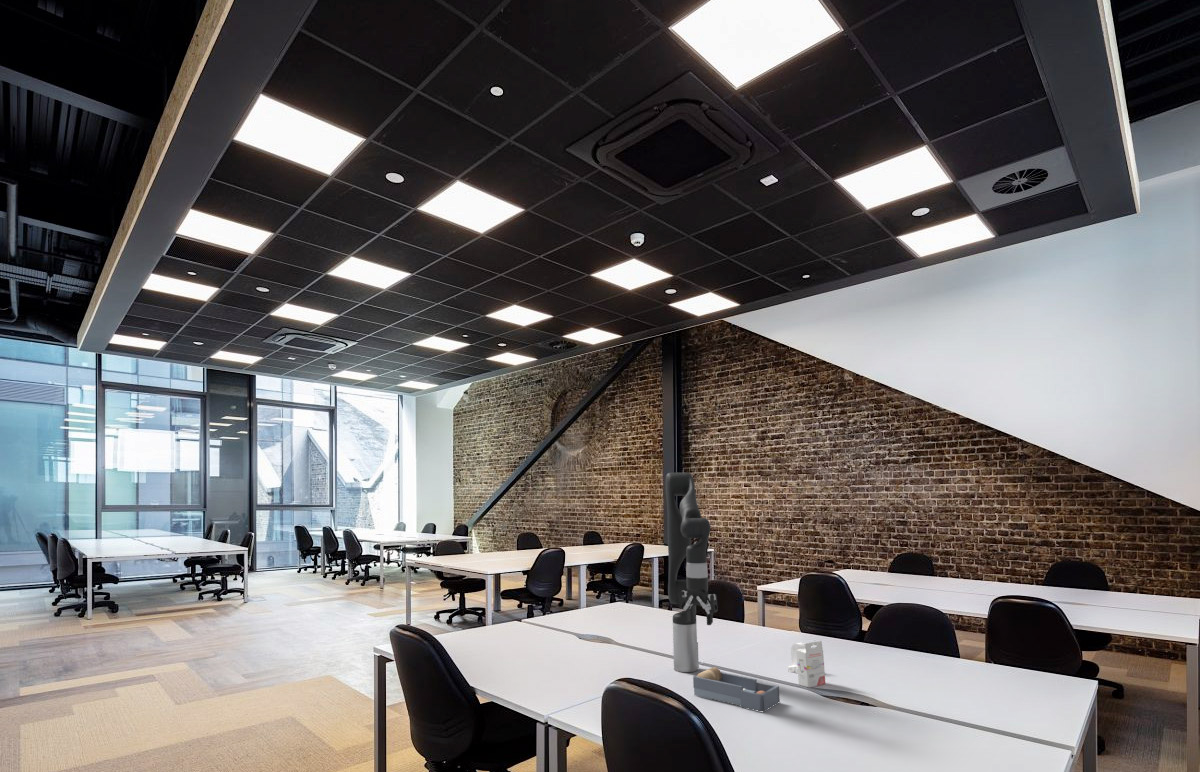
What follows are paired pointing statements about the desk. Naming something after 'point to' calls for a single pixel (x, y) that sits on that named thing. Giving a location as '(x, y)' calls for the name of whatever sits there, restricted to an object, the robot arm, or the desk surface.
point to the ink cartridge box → (811, 665)
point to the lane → (737, 691)
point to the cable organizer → (795, 656)
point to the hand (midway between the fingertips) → (698, 623)
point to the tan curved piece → (711, 674)
